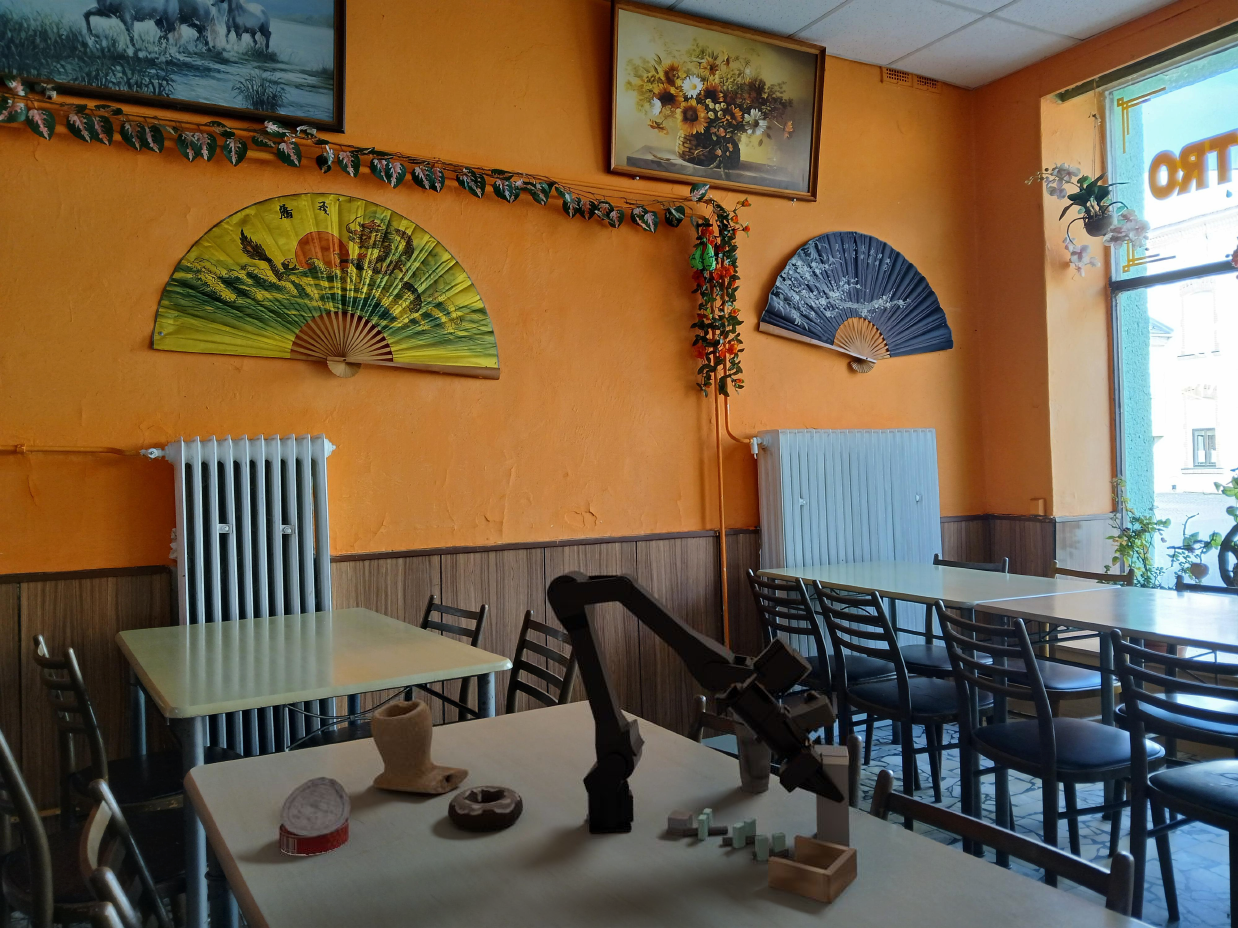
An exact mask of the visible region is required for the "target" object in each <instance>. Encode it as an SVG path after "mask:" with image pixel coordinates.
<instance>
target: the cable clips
mask: <svg viewBox="0 0 1238 928" xmlns="http://www.w3.org/2000/svg"><path fill="white" fill-rule="evenodd" d="M712 826H713V809H712V808H706V807H705V808H704V810H703V811H702V814H700V815H699V817H698V818H697V827H698V835H697V837H698V839H697V840H702V841H703V840H704V841H705V840H706V839H707V837H708V836H709V834H708V827H712ZM752 835H757V820H756V818H754V817H748V818H746V819H745V820H743V823H741V822H738V823H735V824H733V825H732V837H733V844H732V847H733V848H735V849H738V850H739V849H741V848H743V847H744V846H746V843H745V836H752ZM759 835H760V836H755V843H754V847H755V848H754V851H756V852H757V858H755V859H756V860H757V861H766V860H769V850H770V846H769V845H770V843H769V842H770V841H769V840H770V838H769V836H768V835H767V834H759ZM786 839H787V838H786V834H785V833H784V832H782V831H781V832H774V833H771V850H772V849H774V850H775V852H778V851H781V850H785V849H787V848H786V847H787V844H786V841H787V840H786ZM777 858H780V857H777Z"/></svg>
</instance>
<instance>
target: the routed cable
mask: <svg viewBox="0 0 1238 928" xmlns="http://www.w3.org/2000/svg"><path fill="white" fill-rule="evenodd" d="M728 833H729V826H728V825H718V826H717V825H716V826H713V825H712V827H708V835H713V834H714V835H715V834H717V835H718V834H728ZM684 835H687V836H698V826H697V827H693V828H687V830H686V829H683V835H682V836H684ZM760 835H761V834H756V835H752V836H745V844H755V836H760ZM721 840H722V841H721V842H722V845H723V846H725V845H727V846H728V845H733V836H726V837H725V836H722V838H721ZM751 856H752V857H751V858H752V859H756V858H757V852H756V851H755V850H751ZM772 856H773V857H779V858H784V857H790V849H789V848H786V849H785V850H781V851H778V852H775V850H774V849H772V848H771V849H769V858H770V857H772Z"/></svg>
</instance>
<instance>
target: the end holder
mask: <svg viewBox="0 0 1238 928" xmlns="http://www.w3.org/2000/svg"><path fill="white" fill-rule="evenodd" d="M793 841H794V842H793V844H794V846H793V847H794V851H793V852H794V861H792V860H788V859H784V858H782V857H779V858H777V857H773V856H772V857H770V858H769V859H768V886H769V887H771V888H776V889H779V890H783V891H786V892H789V893H792V894H793V893H794V894H796V895H800V896H804V897H807V898H810V899H814V900H818V901H821V902H823V903H828V904H832V903H833V902H834V901H835V900H836V899H837V898H838V897H839V895H840V894H842V893H843V891H844V890H845V889H846V888H847V887H848V886H849V885H850V884H851V883H852V882H853V881H854V880H855V879H856V878H857V876H858V860H857V859H858V854H857V853H858V852H857V851H858V850H857V848H852V847H845V846H841V845H837V844H833V843H828V842H824V841H820V840H817V838H811V837H808V836H803V835H798V834H797V835H795V836H794V840H793Z"/></svg>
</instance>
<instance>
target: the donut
mask: <svg viewBox="0 0 1238 928" xmlns="http://www.w3.org/2000/svg"><path fill="white" fill-rule="evenodd" d="M523 809H524V804H523V798H522V796H521V795H520V794H519V793H518V792H517V791H516V790H514V789H511V788H510V787H506V786H503V785H495V784H494V785H480V786H479V785H478V786H474V787H473V786H472V787H470V788H467V789H464V790H462V791H460V792H459V793H457V794H455V796H453V798H452V799H451V800H450V801H449V803H448V808H447V815H448V818H449V820H450V821H451V823H452V824H453V825H454V826H455V827H457V828H459V829H462V830H465V831H468V830H469V831H468V832H477V831H478V832H490V830H492V831H496V829H497V830H500V828H501V829H504V828H506V827H509V826H511V825H513V824H514V823H515V822H517V820H518V819H519V818H520V817H521V815H522V814H523V811H524V810H523Z"/></svg>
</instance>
